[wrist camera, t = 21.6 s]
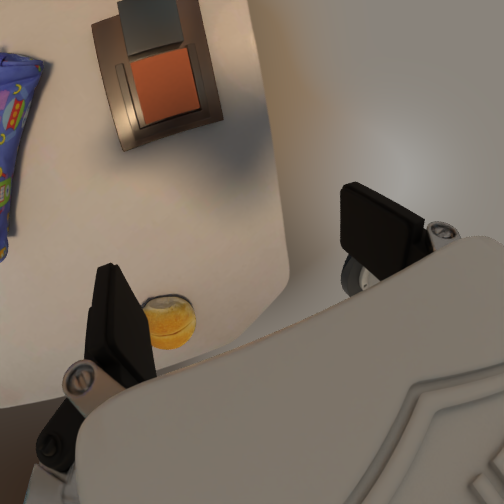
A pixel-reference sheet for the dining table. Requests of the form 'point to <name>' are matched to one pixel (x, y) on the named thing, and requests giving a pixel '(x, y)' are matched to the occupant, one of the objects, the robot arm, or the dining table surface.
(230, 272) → the dining table surface
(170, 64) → the orange block
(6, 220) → the pencil case
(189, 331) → the bread roll
